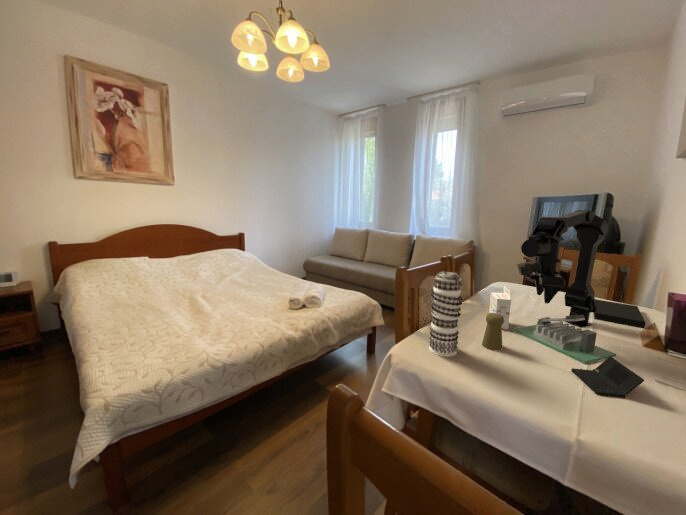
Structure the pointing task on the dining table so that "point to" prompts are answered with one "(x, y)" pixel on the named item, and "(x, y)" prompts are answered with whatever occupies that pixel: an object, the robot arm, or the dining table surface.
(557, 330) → the heat sink
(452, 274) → the decorative candle
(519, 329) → the circuit board
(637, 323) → the external hard drive
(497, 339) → the cork
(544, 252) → the robot arm
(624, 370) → the handheld gaming console
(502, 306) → the ink cartridge box
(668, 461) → the dining table surface
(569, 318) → the retention strap
